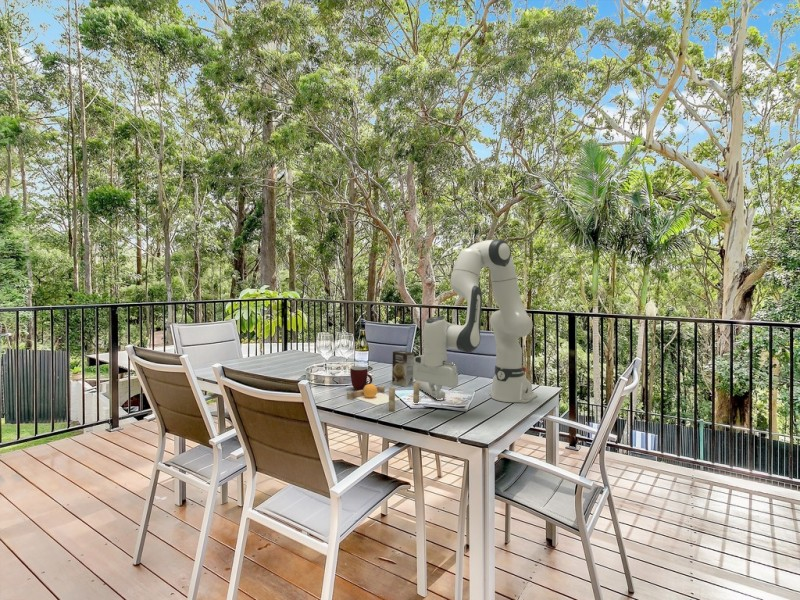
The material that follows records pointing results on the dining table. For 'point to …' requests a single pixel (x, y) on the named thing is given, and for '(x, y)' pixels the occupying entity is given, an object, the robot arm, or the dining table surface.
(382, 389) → the stopper wall
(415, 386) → the post
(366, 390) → the ball
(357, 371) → the mug
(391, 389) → the post
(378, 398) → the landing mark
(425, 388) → the tube
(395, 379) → the coffee box
